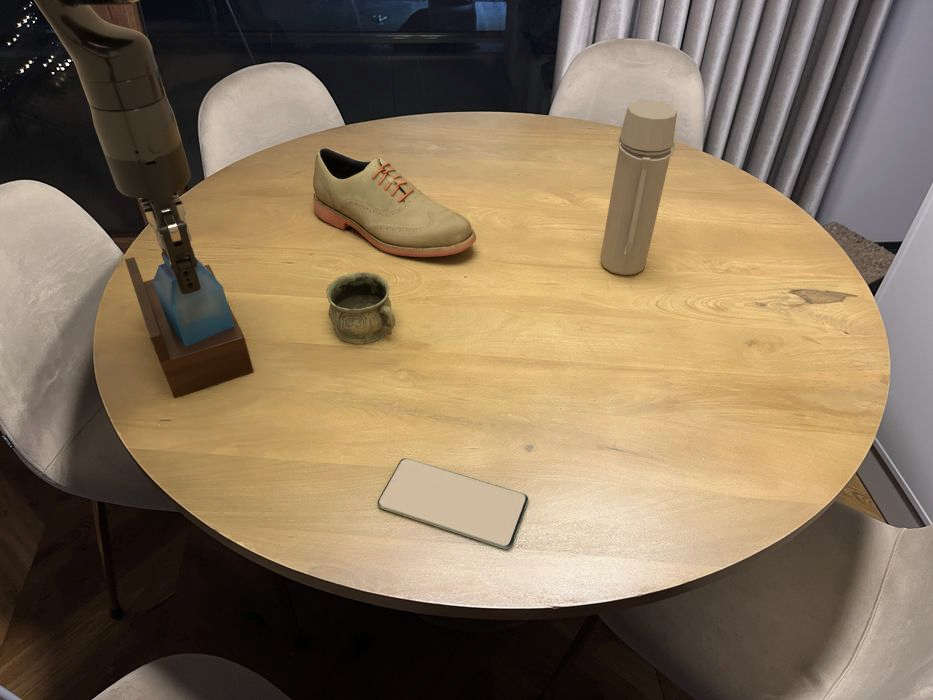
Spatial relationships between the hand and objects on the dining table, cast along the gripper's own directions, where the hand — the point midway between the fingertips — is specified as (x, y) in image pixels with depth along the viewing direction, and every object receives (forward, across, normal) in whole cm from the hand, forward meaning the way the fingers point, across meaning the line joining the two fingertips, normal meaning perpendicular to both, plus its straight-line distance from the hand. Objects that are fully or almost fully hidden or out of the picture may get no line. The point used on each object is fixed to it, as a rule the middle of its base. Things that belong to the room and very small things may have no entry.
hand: (184, 275), depth 80 cm
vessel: (+14, +3, +20) cm, 25 cm away
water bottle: (+14, +9, +62) cm, 64 cm away
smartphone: (+14, +35, +17) cm, 42 cm away
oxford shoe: (+14, -18, +34) cm, 40 cm away
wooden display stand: (+14, -4, -1) cm, 14 cm away
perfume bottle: (+8, 0, 0) cm, 8 cm away
